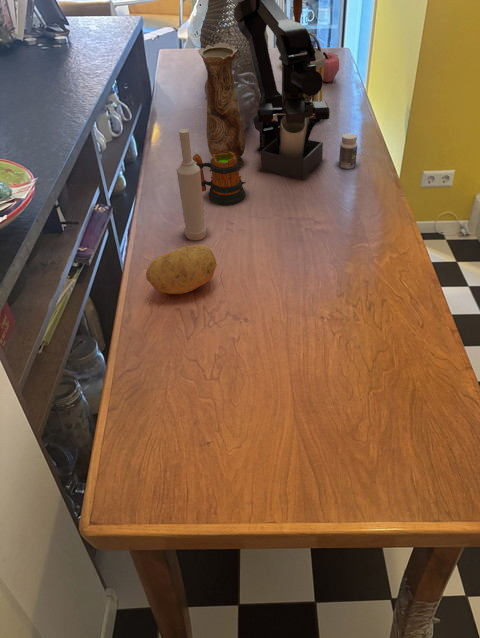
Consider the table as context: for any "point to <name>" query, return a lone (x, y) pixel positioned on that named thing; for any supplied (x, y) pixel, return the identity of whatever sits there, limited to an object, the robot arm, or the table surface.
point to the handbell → (297, 11)
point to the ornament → (245, 96)
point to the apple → (330, 66)
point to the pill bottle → (348, 151)
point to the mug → (223, 178)
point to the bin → (291, 160)
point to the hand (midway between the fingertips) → (292, 143)
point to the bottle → (190, 191)
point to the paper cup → (292, 139)
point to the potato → (182, 269)
